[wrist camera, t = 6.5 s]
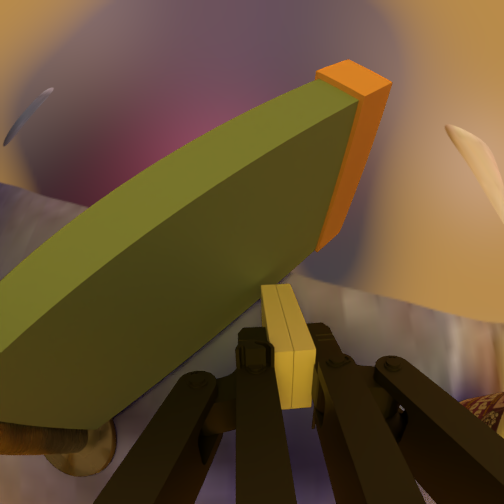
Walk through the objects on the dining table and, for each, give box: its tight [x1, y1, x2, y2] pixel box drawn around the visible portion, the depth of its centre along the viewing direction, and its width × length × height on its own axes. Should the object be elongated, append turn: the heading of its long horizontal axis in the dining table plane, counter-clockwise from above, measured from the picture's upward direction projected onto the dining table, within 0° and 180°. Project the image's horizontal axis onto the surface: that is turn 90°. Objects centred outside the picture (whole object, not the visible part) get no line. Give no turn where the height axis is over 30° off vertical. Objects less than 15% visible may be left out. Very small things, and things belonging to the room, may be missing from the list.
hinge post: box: [0, 418, 117, 477], centre depth 9 cm, size 6×6×14 cm
